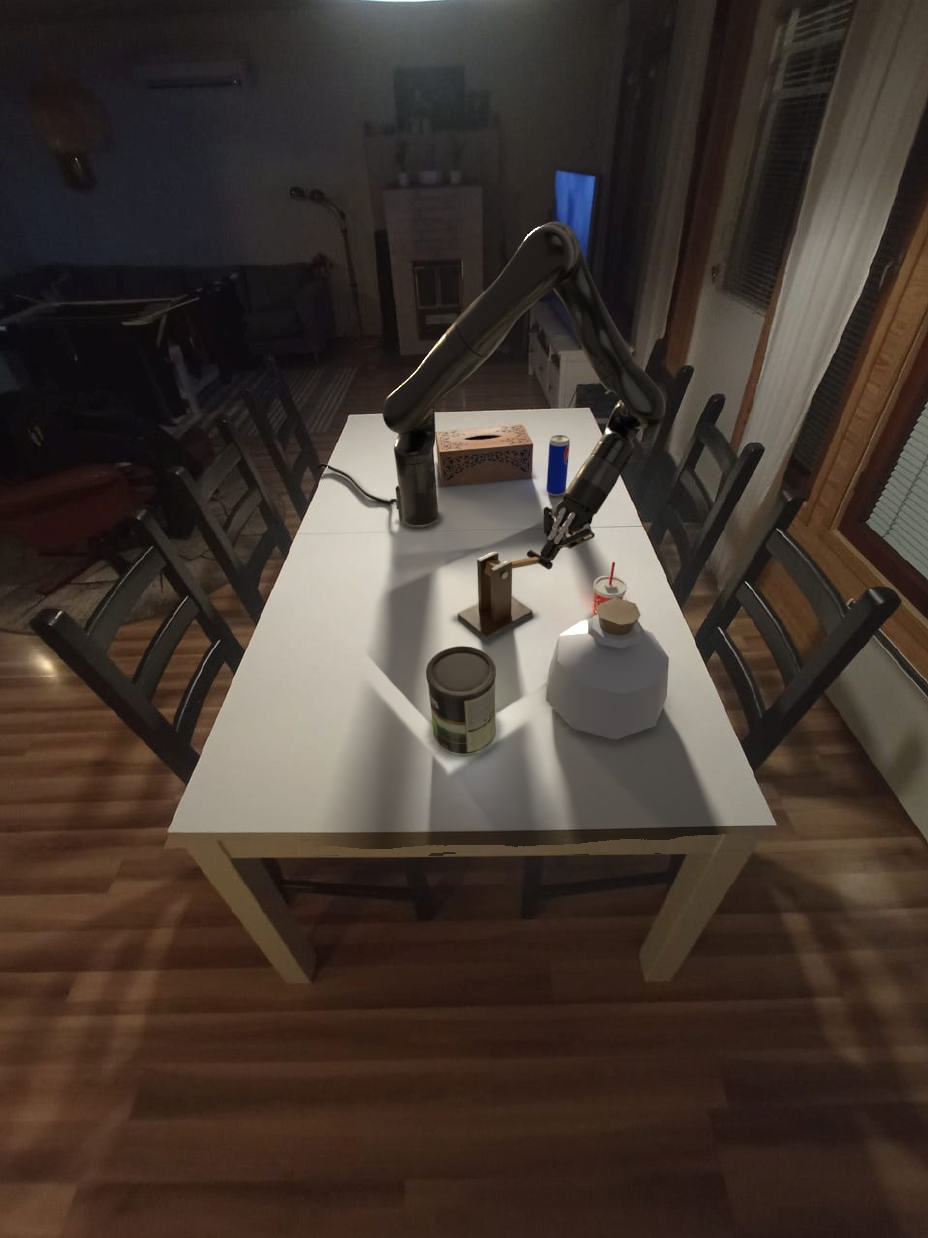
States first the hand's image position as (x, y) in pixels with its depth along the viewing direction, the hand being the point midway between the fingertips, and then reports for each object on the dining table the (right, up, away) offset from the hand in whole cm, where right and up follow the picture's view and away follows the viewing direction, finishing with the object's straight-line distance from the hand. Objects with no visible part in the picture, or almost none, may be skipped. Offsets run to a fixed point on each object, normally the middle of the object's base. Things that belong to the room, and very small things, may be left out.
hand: (544, 559), depth 113 cm
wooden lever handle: (-6, -2, -4) cm, 8 cm away
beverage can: (+9, +22, +39) cm, 46 cm away
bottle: (+8, -25, -17) cm, 32 cm away
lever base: (-10, -12, 0) cm, 15 cm away
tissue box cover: (-11, +31, +51) cm, 61 cm away
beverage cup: (+11, -13, -3) cm, 17 cm away
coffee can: (-16, -30, -22) cm, 41 cm away
